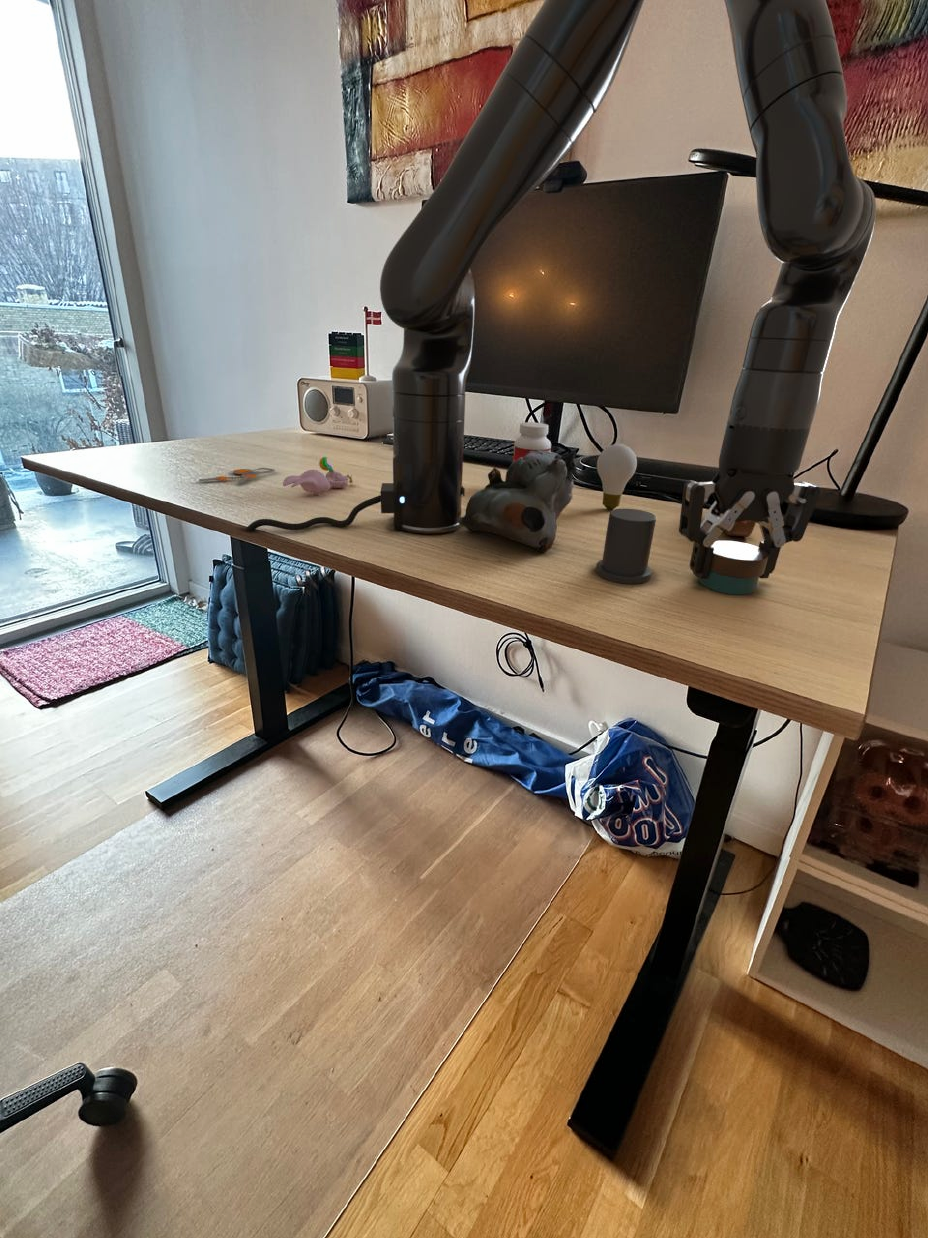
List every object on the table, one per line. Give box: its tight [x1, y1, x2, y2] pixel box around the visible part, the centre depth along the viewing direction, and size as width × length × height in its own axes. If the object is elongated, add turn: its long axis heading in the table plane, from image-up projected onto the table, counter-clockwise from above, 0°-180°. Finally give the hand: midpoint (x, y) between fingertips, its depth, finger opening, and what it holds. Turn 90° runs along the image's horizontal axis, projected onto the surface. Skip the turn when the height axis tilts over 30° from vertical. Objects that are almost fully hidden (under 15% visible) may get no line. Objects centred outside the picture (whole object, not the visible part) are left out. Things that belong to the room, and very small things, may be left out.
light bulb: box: [596, 443, 638, 511], centre depth 89 cm, size 6×6×10 cm
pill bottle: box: [512, 421, 552, 463], centre depth 98 cm, size 6×6×11 cm
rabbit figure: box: [282, 456, 354, 496], centre depth 92 cm, size 6×6×15 cm
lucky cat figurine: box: [458, 450, 576, 553], centre depth 74 cm, size 15×12×14 cm
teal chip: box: [698, 570, 760, 596], centre depth 65 cm, size 6×6×2 cm
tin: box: [719, 513, 757, 538], centre depth 83 cm, size 15×3×8 cm, turn 168°
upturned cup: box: [595, 508, 657, 585], centre depth 65 cm, size 6×6×7 cm
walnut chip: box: [709, 540, 769, 578], centre depth 64 cm, size 6×6×2 cm
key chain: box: [198, 467, 276, 484], centre depth 101 cm, size 13×7×1 cm, turn 156°
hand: (729, 575), depth 65 cm, fingers closed on walnut chip, 6 cm apart
